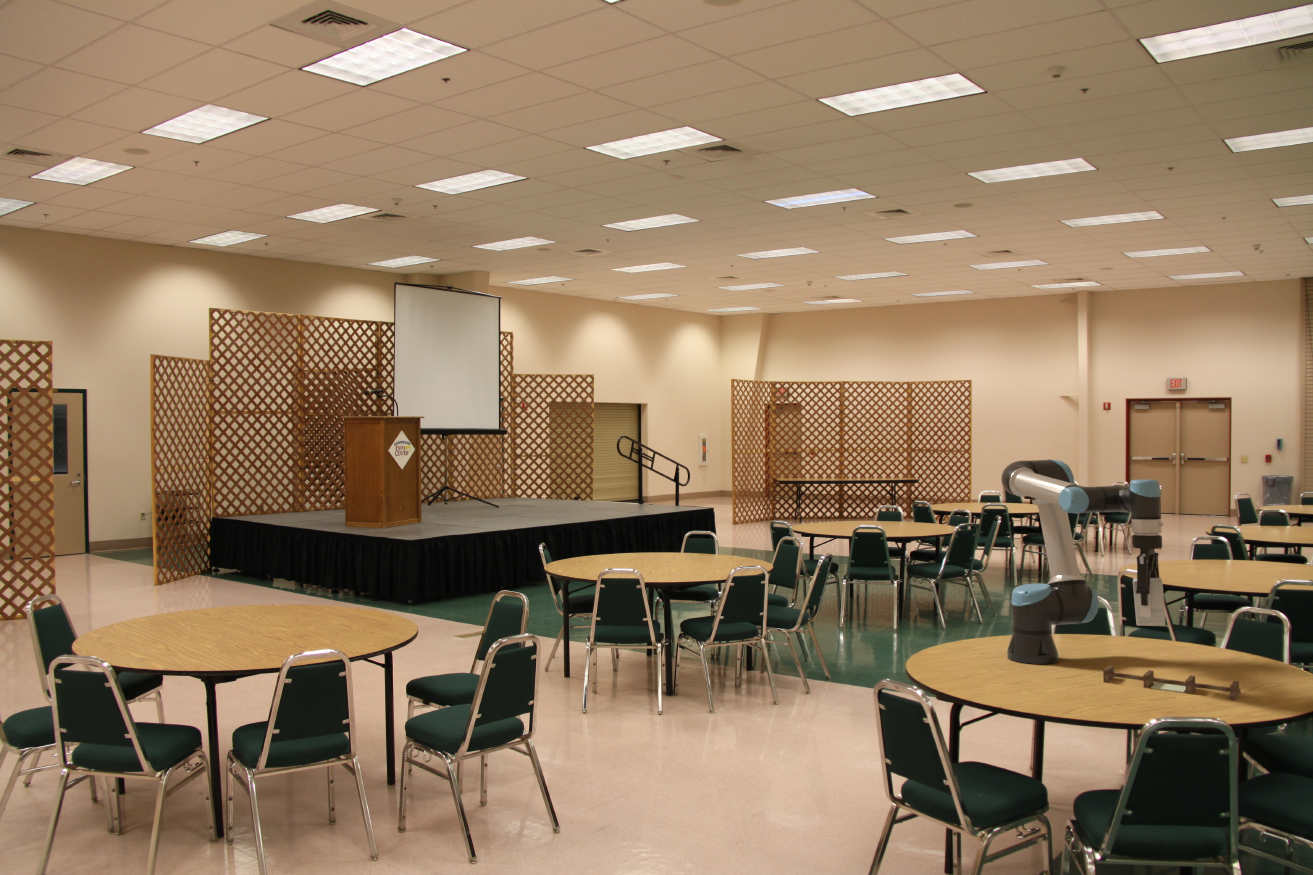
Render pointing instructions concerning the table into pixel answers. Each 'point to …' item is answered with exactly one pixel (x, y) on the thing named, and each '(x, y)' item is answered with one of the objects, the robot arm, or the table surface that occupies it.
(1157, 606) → the supplement box
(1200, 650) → the table surface
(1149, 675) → the notch rail
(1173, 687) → the pad
